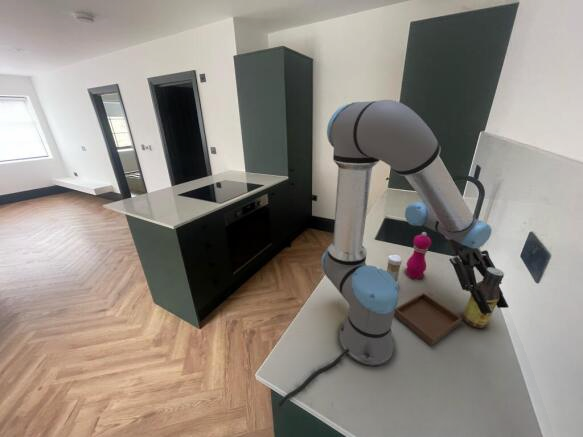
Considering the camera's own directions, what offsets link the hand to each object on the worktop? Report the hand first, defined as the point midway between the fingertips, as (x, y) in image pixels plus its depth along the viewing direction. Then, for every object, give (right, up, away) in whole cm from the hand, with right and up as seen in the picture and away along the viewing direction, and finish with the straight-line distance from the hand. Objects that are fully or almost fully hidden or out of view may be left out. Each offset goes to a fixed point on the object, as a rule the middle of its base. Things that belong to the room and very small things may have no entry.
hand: (494, 309), depth 68 cm
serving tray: (-16, -6, +7) cm, 19 cm away
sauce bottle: (-1, -6, +7) cm, 9 cm away
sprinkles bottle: (-22, 0, +22) cm, 31 cm away
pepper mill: (-9, +3, +29) cm, 30 cm away
